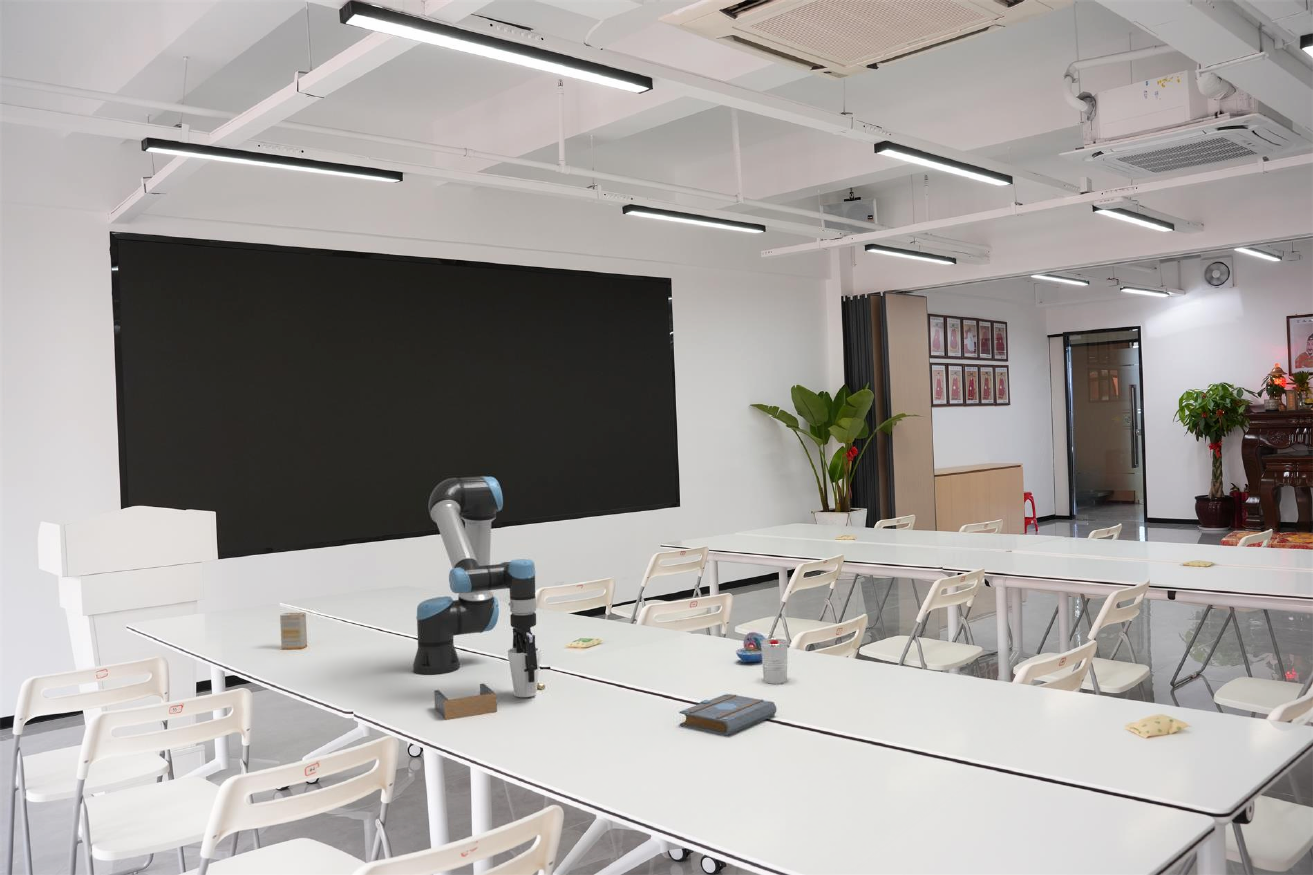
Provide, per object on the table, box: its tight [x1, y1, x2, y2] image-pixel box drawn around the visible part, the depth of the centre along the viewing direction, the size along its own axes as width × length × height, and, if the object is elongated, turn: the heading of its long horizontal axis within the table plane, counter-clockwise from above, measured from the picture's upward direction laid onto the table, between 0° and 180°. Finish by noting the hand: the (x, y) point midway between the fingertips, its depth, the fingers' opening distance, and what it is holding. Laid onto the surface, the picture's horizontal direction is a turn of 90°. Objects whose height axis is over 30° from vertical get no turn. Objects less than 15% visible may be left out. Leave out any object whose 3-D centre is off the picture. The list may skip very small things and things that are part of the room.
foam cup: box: [507, 646, 542, 698], centre depth 285 cm, size 10×9×13 cm
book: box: [678, 693, 777, 737], centre depth 255 cm, size 21×16×5 cm
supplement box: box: [279, 612, 308, 650], centre depth 366 cm, size 8×5×13 cm, turn 84°
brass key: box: [537, 682, 546, 691], centre depth 295 cm, size 8×2×2 cm, turn 45°
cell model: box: [735, 631, 767, 663], centre depth 319 cm, size 10×12×10 cm
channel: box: [433, 683, 498, 721], centre depth 273 cm, size 13×14×5 cm
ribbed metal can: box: [758, 638, 791, 685], centre depth 294 cm, size 10×8×12 cm
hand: (525, 688), depth 285 cm, fingers closed on foam cup, 9 cm apart
